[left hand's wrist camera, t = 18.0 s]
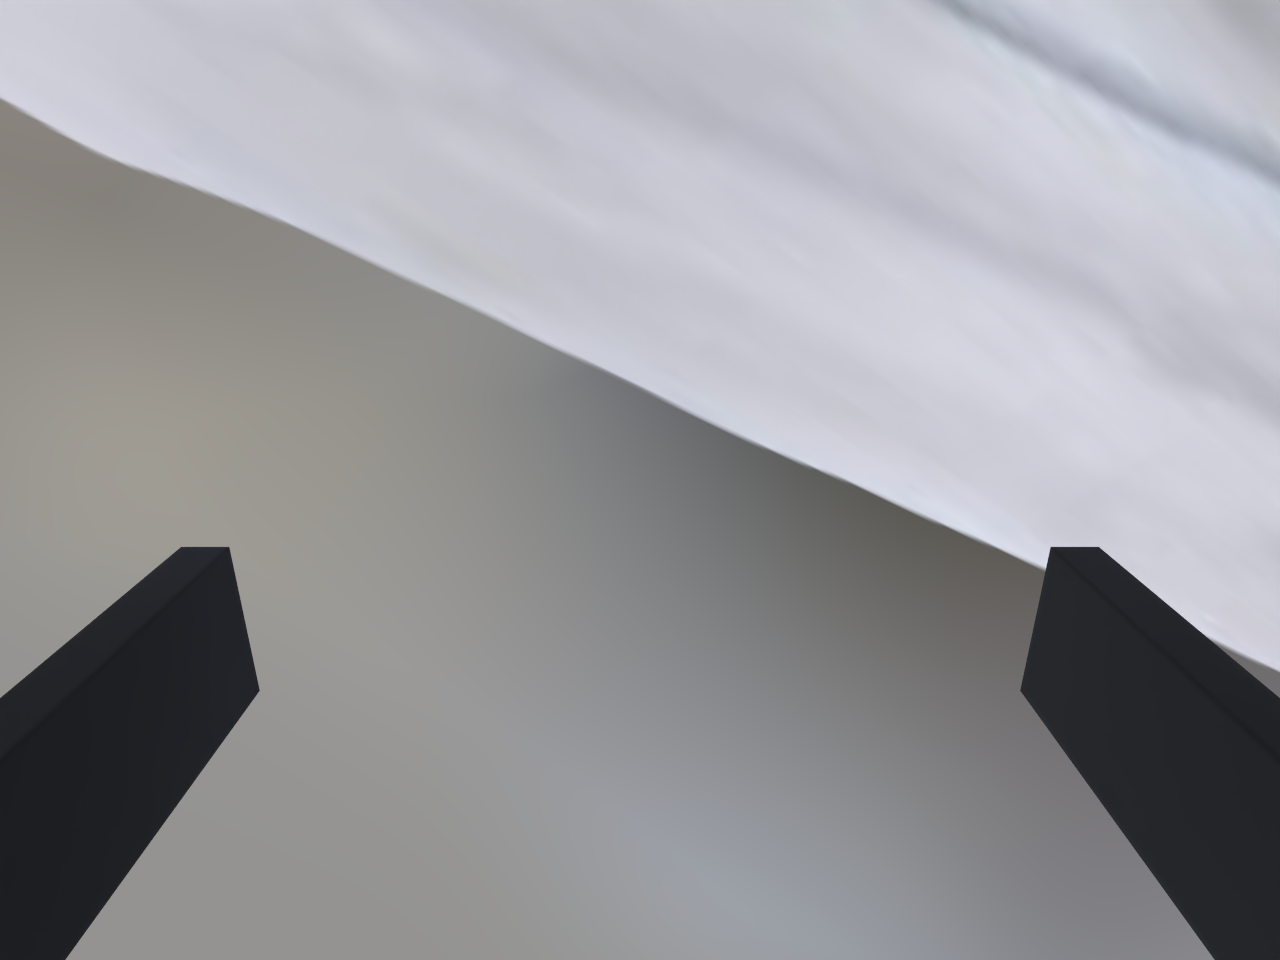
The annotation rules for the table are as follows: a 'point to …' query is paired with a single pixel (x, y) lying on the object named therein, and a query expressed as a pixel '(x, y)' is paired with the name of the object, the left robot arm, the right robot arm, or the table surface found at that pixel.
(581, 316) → the table surface
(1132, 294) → the table surface
